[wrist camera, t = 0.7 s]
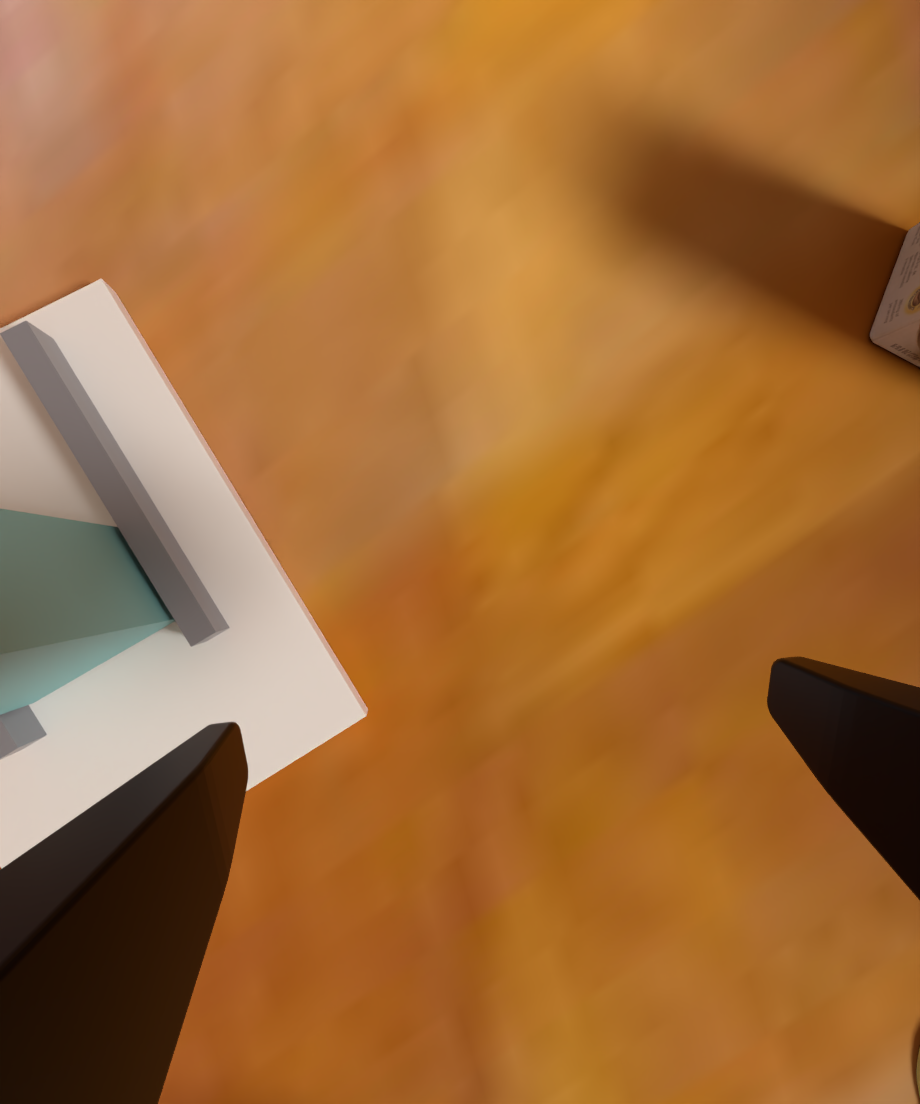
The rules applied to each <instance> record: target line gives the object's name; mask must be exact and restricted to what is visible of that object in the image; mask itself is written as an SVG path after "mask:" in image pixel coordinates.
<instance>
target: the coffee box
mask: <svg viewBox="0 0 920 1104" xmlns="http://www.w3.org/2000/svg"><path fill="white" fill-rule="evenodd" d="M870 338H871V340H872V342H873V343H875V344H877V345H879V346H881V347H883V348H884V349H886V350H888V351H890V352H892V353H894V354H896V355H898V356H899V357H901V358H903V359H905V360H907V361H909V362H911V363H913V364H915V365H916V366H918V367H920V222H919V223H918V224H917V225H915V226H914V227H912V228H911V229H910V230H909V231H908V233H907V235H906V238H905V240H904V243H903V246H902V248H901V251H900V254H899V256H898V259H897V262H896V264H895V267H894V270H893V272H892V275H891V278H890V280H889V283H888V286H887V288H886V291H885V294H884V296H883V299H882V302H881V305H880V307H879V310H878V313H877V315H876V318H875V321H874V323H873V326H872V329H871V332H870Z"/></svg>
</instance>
